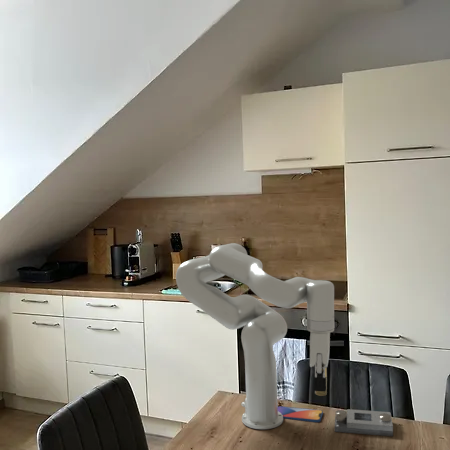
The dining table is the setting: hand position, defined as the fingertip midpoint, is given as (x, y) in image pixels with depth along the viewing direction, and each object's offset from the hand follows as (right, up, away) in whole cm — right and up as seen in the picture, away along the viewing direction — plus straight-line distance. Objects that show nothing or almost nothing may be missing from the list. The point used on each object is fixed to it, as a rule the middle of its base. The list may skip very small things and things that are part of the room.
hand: (320, 387), depth 140 cm
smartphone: (-5, -14, +14) cm, 20 cm away
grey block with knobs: (+13, -13, +5) cm, 19 cm away
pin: (0, -2, 0) cm, 2 cm away
